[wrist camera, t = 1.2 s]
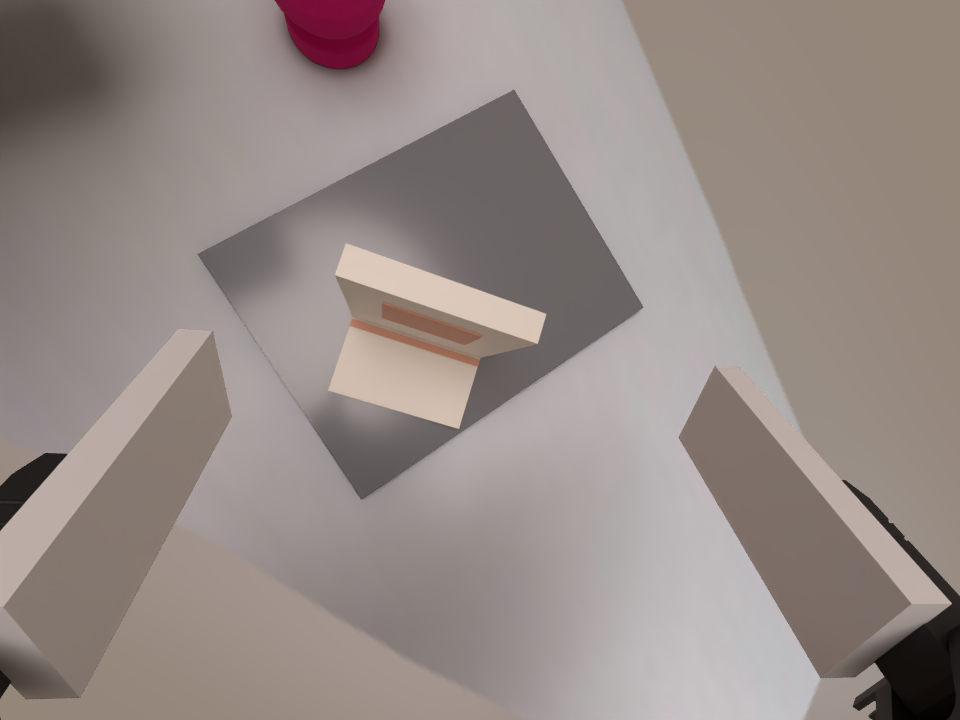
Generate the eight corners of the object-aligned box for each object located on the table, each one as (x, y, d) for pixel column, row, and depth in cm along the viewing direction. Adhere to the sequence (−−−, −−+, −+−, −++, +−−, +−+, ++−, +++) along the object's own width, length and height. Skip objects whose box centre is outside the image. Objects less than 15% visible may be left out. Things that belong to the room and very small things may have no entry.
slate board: (203, 258, 31) (197, 254, 30) (510, 97, 36) (514, 89, 35) (361, 495, 32) (361, 499, 31) (636, 309, 37) (643, 307, 36)
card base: (457, 427, 33) (459, 429, 32) (329, 390, 31) (327, 390, 30) (485, 333, 34) (488, 332, 33) (362, 291, 32) (361, 289, 31)
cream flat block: (480, 359, 32) (537, 346, 21) (352, 317, 31) (334, 277, 19) (486, 338, 32) (546, 313, 21) (359, 296, 31) (345, 243, 19)
